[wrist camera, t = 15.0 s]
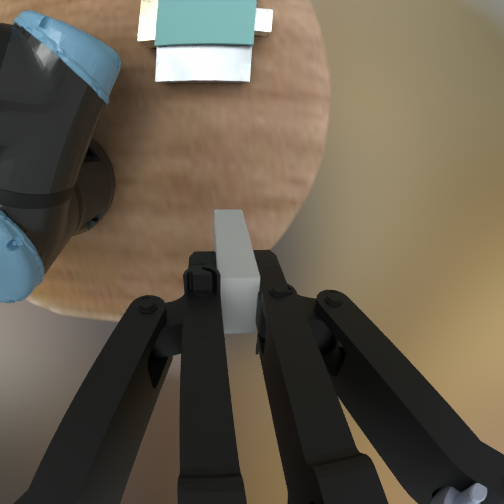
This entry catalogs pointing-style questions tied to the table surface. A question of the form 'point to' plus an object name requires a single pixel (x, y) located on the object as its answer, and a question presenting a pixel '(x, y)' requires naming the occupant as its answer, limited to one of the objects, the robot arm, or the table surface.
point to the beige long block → (150, 14)
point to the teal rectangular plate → (205, 22)
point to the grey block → (203, 64)
